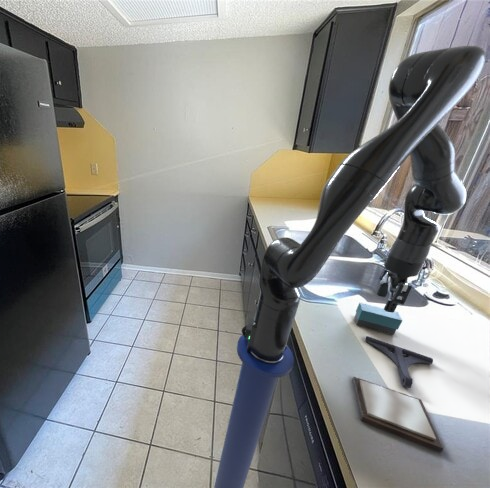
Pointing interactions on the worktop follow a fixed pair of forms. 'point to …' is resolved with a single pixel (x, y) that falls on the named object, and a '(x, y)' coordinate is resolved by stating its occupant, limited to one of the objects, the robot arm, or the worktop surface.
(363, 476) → the worktop surface
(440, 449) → the board
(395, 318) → the teal angular block
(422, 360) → the bracket
